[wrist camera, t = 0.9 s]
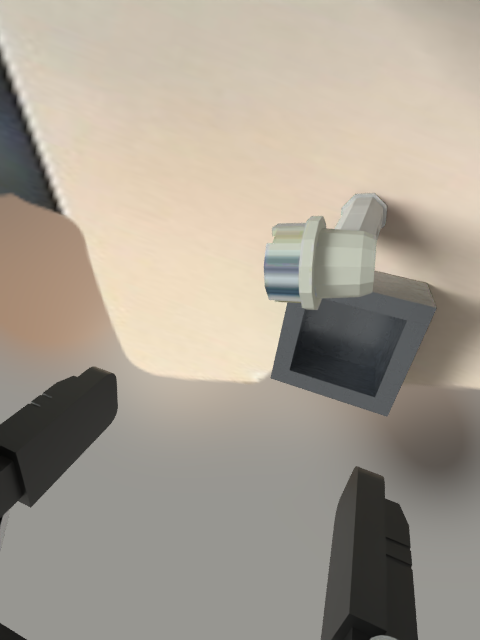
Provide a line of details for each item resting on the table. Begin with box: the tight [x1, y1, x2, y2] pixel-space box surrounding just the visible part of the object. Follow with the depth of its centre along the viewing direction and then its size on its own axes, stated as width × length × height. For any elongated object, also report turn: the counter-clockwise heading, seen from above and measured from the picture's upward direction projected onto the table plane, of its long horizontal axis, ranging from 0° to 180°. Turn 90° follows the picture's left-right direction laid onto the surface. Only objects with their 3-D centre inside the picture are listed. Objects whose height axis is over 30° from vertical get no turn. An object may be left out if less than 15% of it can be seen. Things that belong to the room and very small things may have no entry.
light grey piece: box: [264, 193, 387, 310], centre depth 28 cm, size 5×7×25 cm
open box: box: [271, 271, 437, 416], centre depth 41 cm, size 14×14×8 cm
